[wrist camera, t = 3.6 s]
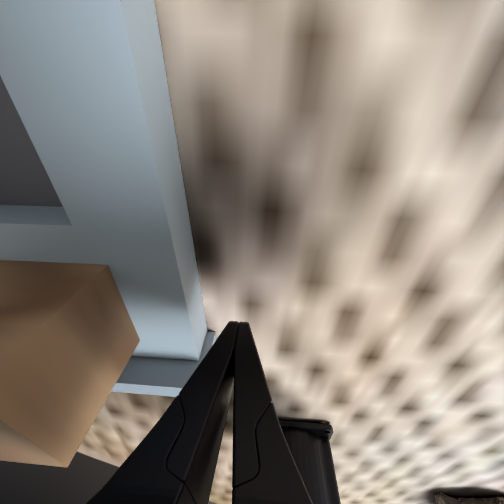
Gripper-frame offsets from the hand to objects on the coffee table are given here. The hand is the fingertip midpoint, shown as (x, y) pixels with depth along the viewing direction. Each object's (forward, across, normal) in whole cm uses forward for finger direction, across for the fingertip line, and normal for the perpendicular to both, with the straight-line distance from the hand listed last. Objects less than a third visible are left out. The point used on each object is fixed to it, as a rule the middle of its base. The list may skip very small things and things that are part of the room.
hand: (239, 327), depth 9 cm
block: (+1, +8, 0) cm, 8 cm away
